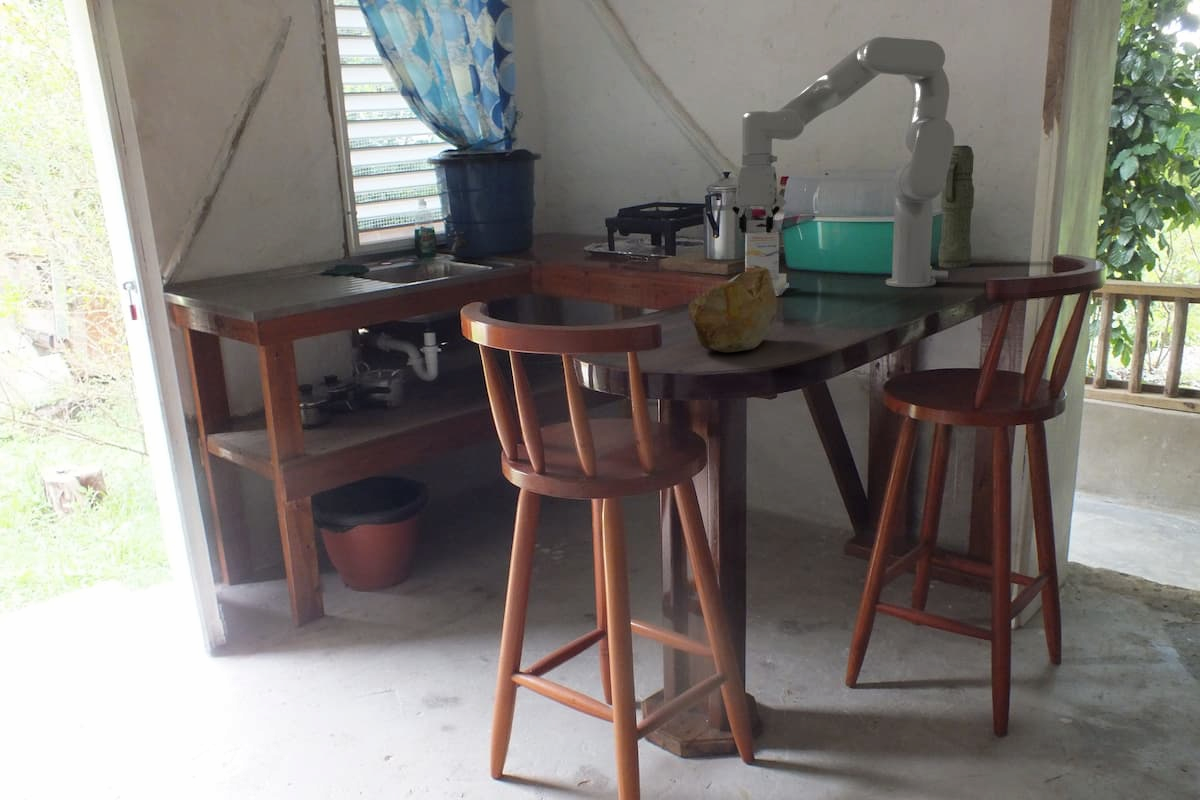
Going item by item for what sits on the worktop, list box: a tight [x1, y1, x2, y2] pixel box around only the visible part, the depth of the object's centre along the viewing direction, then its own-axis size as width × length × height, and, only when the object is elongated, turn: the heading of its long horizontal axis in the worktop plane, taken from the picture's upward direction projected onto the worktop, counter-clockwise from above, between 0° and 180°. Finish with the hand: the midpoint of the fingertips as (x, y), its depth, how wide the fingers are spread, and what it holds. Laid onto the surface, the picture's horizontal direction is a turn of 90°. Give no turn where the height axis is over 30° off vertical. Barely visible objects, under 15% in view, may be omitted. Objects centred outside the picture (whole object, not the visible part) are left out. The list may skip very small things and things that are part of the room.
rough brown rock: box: [688, 266, 778, 353], centre depth 191 cm, size 23×17×15 cm
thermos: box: [937, 145, 975, 269], centre depth 279 cm, size 9×12×35 cm
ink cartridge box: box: [744, 219, 780, 278], centre depth 253 cm, size 9×5×15 cm, turn 85°
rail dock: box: [727, 272, 790, 297], centre depth 256 cm, size 14×15×4 cm
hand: (756, 231), depth 252 cm, fingers closed on ink cartridge box, 5 cm apart
